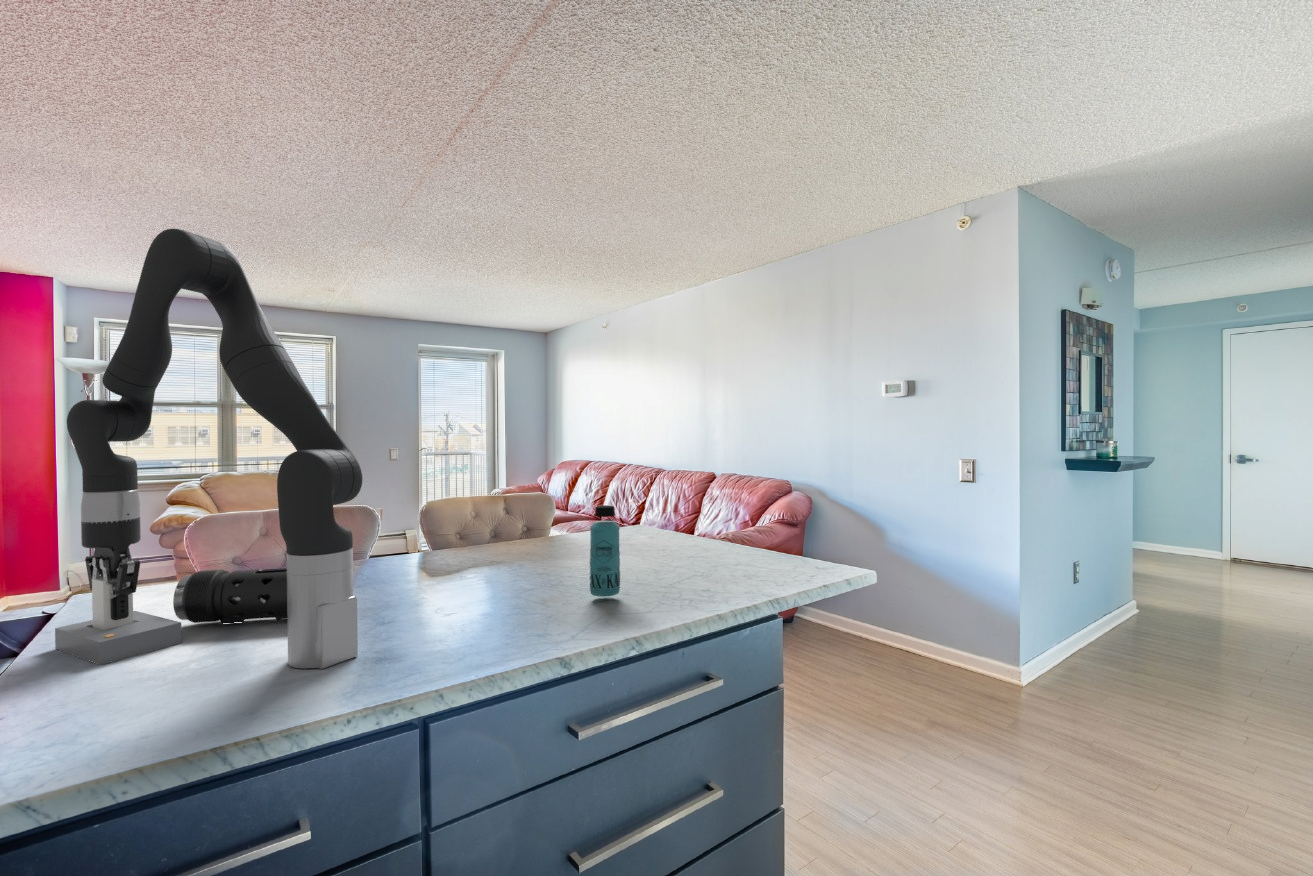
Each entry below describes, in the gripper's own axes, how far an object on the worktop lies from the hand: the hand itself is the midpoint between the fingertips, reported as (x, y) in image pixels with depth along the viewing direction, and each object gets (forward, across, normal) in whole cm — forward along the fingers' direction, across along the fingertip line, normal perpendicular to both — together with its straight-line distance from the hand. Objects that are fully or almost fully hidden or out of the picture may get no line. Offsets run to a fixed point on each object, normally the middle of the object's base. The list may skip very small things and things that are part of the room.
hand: (113, 616), depth 104 cm
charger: (+2, 0, 0) cm, 2 cm away
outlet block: (+5, -2, 0) cm, 5 cm away
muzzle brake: (+5, -11, -20) cm, 23 cm away
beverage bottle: (+5, -62, -60) cm, 86 cm away
